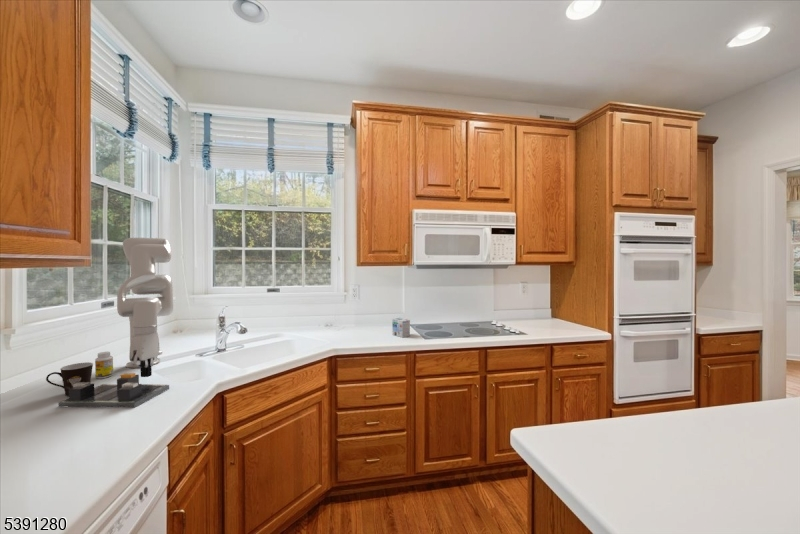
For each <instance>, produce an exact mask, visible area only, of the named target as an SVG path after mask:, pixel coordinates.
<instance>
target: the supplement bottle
mask: <svg viewBox="0 0 800 534" xmlns="http://www.w3.org/2000/svg"><path fill="white" fill-rule="evenodd" d="M94 360H95V361H94V364H95V378H96V379H100V380H101V379H107V378H109V377H112V376H113V375H114V357H113V356H112V355H111V351H101V352H98V353H97V357H96V358H95V359H94Z"/></svg>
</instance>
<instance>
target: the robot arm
mask: <svg viewBox="0 0 800 534" xmlns="http://www.w3.org/2000/svg"><path fill="white" fill-rule="evenodd" d="M122 249H123V252H124V255H125V257H126V259H127V261H128V263H129V267H130V276H129V277H128V278H127V279H126V280H124V282H122V283H121V285H120V287H118V288H119V289H118V291H117V296H116V297H117V298H116V308H117V309H116V310H117V314H118V315H119V316H120V317H122V318H128V320H129V335H130V336H129V340H130V341H129V342H130V343H129V344H130V345H129V355H128V357H129V361H128V362H127V363H126V367H127V368H128V369H129V368H131V369H138V368H140V377H141V378H148V377H151V376H153V375H152V373H153V372H152V371H153V370H152V366H154V365H156V364H159V363H160V362H161V359H160V358H159V357H158V356H160V355H162V354H163V351H162V350H160V339H159V334H158V317H165V316H166V317H167V316H170V315H172V313H173V311H174V296H173V295H174V294H173V288H174V287H173V280H172V278H171V276H169V275H168V274H156V271H157V270H156V263H157V264H159V263H165V264H167V263H169V262H170V261H171V259H172V248H171V245H170V242H169V241H168V239H166V238H162V237H161V238H157V237H155V238H154V237H128V238H125V239H124V240H123V242H122ZM130 290H131V292H132V293H133V294H134V295H139V296H141V295H142V296H145V295H147V297H131V298H130V297H129V298H127V293H128V292H129V291H130ZM149 295H161V296H149ZM148 296H149V297H148Z"/></svg>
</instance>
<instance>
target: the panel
mask: <svg viewBox="0 0 800 534" xmlns="http://www.w3.org/2000/svg"><path fill="white" fill-rule="evenodd" d="M167 389H168V390H170V384H161V383H160V384H157V383H156V384H154V383H151V384H148V383H147V384H142V383H139V384H138V383H125V384H122V388H120V389H118V390H117V383H105V384H104V383H103V384H100V385H97V386H95V383H91V382H78V383H76V384H73V388H70V389H69V396H68V398H65V399H64V400H61V401H59V402H57V403H58V407H59V406H68V407H67V408H136V407H139V406H140V405H142V404H144V403H145V401H146V402H148V401H149V400H151V399H153V398H154V396H155V397H157V396H159V395H161V394H162V393H164V392H166V391H168V390H167ZM165 390H166V391H165ZM163 391H164V392H163ZM161 392H162V393H161ZM158 394H159V395H158ZM156 395H157V396H156ZM152 397H153V398H152ZM150 398H151V399H150Z"/></svg>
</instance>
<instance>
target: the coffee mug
mask: <svg viewBox="0 0 800 534" xmlns="http://www.w3.org/2000/svg"><path fill="white" fill-rule="evenodd" d="M93 366H94V363H93V362H88V361H87V362H76V363H72V364H68V365H64V366H62V367H60V372H57V371H54V372H51V373H49V374H47V375H46V378H45V381H46V382H47V383H49V384H50V385H51V386H52V385H53V386H55V387H60V388H62V389H64V394H65V396H66V395H68V396H67V397H69V389H70V388H73V384H76V383H78V382H90V383H92V381H91V380H92V372H93ZM51 375H58V376H59V377H61V379H62V384H58V383H55V382H53V381H50V379H49V377H50V376H51Z"/></svg>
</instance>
